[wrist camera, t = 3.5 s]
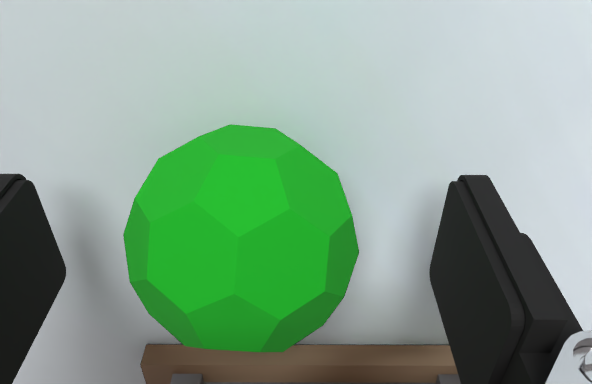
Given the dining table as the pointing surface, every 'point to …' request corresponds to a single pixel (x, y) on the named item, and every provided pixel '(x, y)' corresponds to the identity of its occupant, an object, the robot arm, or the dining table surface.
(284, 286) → the polyhedron
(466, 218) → the robot arm
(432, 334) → the dining table surface
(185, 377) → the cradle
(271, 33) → the dining table surface
